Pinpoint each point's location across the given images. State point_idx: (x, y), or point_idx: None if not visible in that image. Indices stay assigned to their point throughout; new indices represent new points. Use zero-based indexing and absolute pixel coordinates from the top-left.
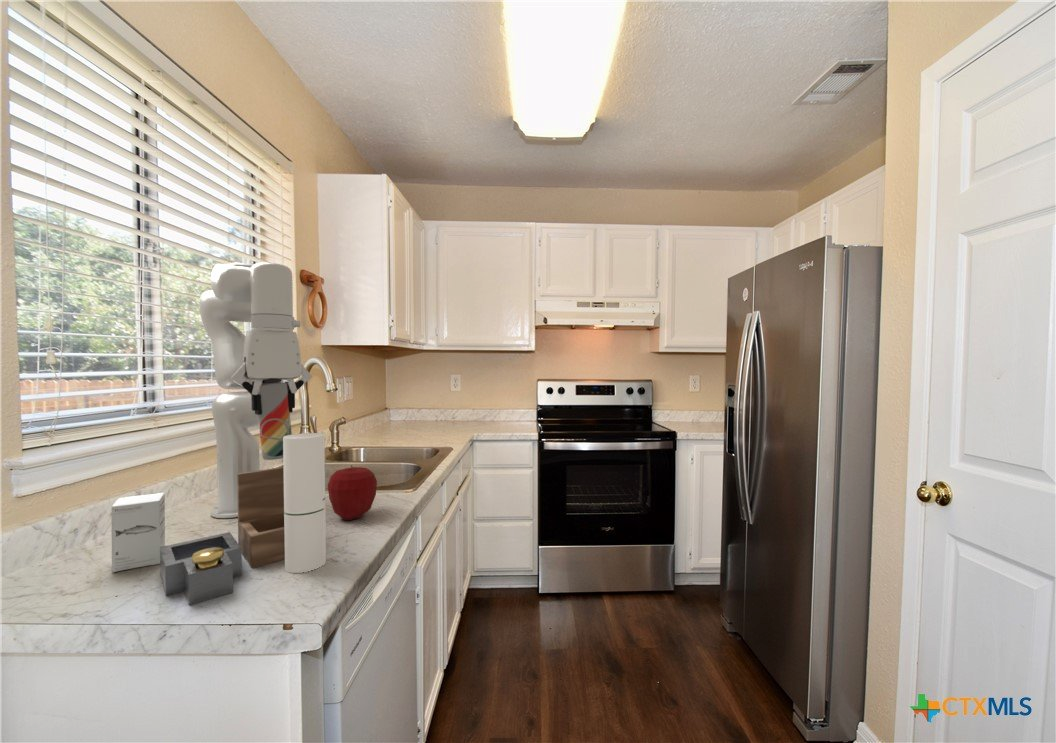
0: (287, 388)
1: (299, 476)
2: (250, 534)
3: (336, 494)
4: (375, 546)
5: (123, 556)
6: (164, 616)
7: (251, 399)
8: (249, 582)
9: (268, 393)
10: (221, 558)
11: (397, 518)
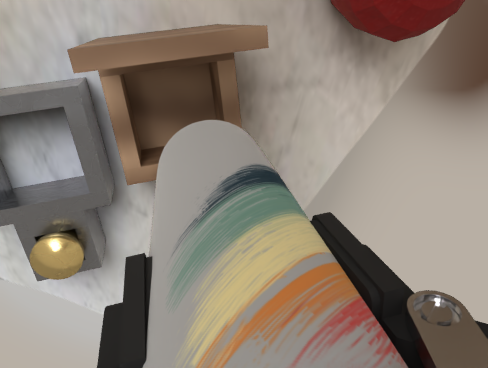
0: (418, 345)
1: None
2: (125, 170)
3: (345, 4)
4: (322, 178)
5: None
6: (21, 269)
7: (98, 363)
8: (127, 217)
9: None
10: (80, 239)
11: (417, 52)
